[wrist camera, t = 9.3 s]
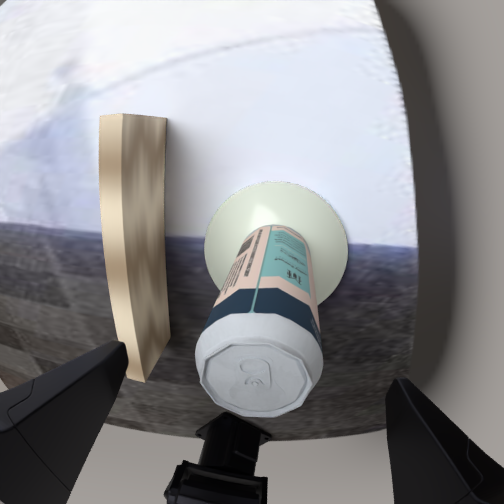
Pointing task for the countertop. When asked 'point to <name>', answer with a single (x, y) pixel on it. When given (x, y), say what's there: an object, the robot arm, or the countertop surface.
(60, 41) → the countertop surface
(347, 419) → the countertop surface
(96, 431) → the robot arm
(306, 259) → the beer can
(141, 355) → the birch screen
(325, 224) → the sage pad
